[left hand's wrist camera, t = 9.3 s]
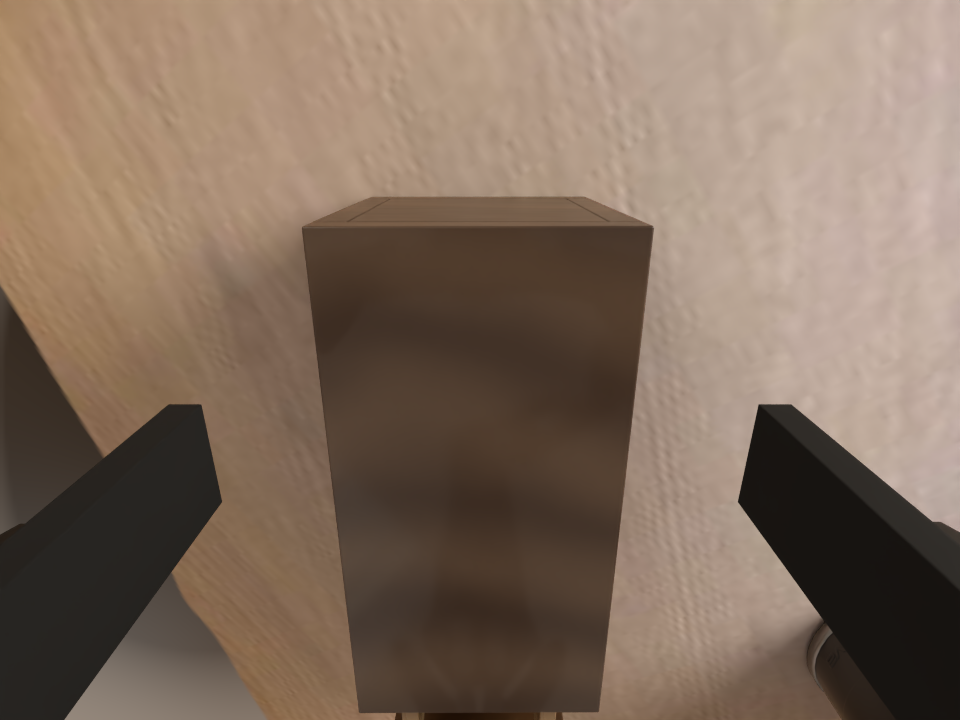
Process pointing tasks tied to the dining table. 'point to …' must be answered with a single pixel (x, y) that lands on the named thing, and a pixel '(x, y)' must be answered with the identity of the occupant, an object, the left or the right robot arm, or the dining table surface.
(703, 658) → the dining table surface
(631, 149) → the dining table surface
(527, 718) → the drawer
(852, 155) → the dining table surface
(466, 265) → the cabinet
